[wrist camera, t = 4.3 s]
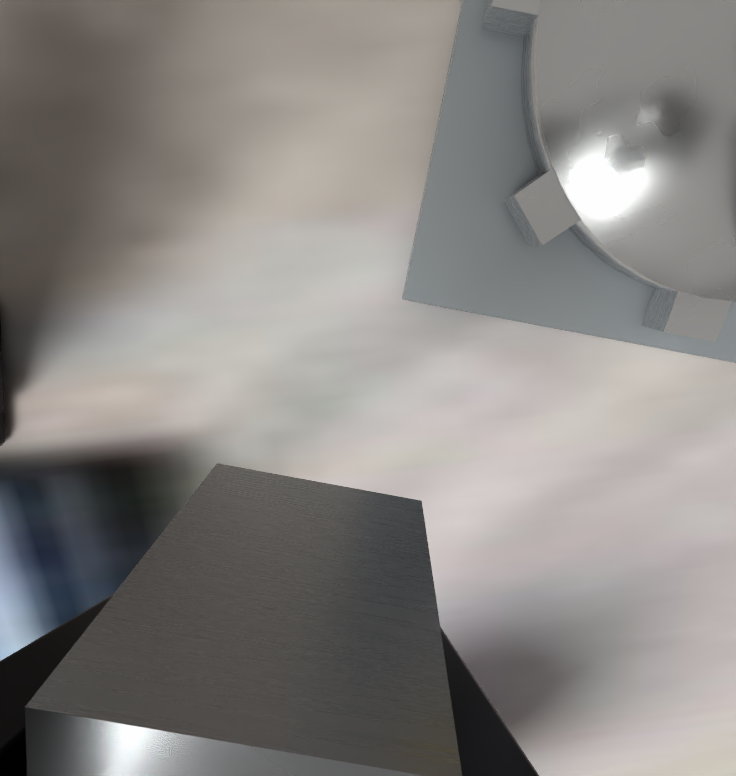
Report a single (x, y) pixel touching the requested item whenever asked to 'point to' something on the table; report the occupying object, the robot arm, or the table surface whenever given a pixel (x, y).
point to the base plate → (497, 226)
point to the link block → (260, 645)
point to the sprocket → (634, 143)
